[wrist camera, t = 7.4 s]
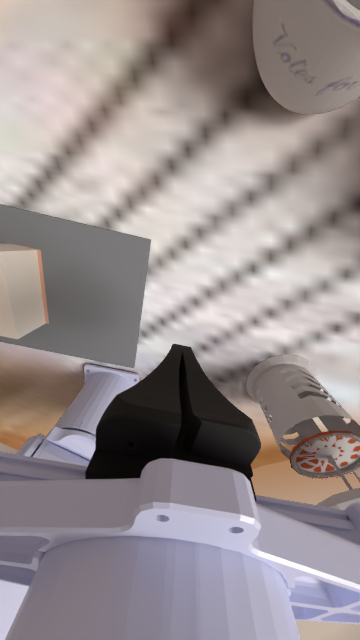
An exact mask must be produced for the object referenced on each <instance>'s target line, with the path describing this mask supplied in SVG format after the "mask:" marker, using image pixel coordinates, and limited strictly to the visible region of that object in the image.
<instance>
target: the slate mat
mask: <svg viewBox="0 0 360 640" xmlns="http://www.w3.org/2000/svg"><path fill="white" fill-rule="evenodd" d="M0 244H12V245H17V246H21V247H26V248H30V249H35V250H37V256H38V265H39V273H40V281H41V290H42V298H43V306H44V315H45V323H46V324H44V325H42V326H40V327H39V328H37V329H35V330H33V331H31V332H30V333H28V334H26V335H24V336H23V337H21V338H19V339H13V338H8V337H3V336H0V342H5V343H10V344H15V345H20V346H25V347H30V348H35V349H40V350H45V351H50V352H55V353H60V354H65V355H70V356H75V357H80V358H85V359H90V360H95V361H100V362H105V363H110V364H115V365H120V366H125V367H130V368H134V365H135V358H136V350H137V343H138V335H139V327H140V320H141V312H142V305H143V297H144V290H145V282H146V275H147V267H148V259H149V252H150V244H151V240H149V239H145V238H141V237H137V236H132V235H128V234H124V233H120V232H115V231H111V230H107V229H103V228H98V227H94V226H90V225H86V224H81V223H77V222H73V221H69V220H64V219H60V218H56V217H52V216H48V215H43V214H39V213H35V212H31V211H26V210H22V209H18V208H14V207H9V206H5V205H1V204H0Z"/></svg>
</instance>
